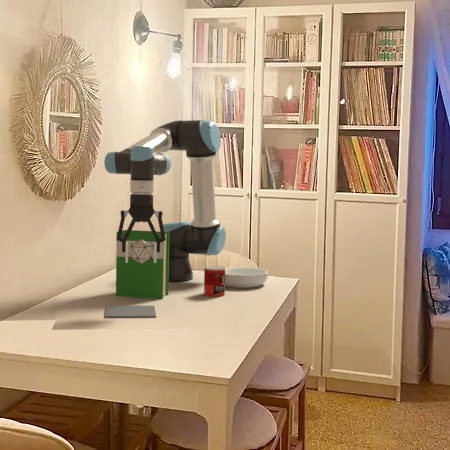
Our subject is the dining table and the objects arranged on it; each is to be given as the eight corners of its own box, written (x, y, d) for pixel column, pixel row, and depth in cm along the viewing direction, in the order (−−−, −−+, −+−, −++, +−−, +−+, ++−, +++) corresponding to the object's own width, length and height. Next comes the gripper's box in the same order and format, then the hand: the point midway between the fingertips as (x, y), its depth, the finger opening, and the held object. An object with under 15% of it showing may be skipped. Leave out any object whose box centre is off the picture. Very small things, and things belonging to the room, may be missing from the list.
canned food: (216, 299, 259) (217, 269, 258) (199, 296, 264) (200, 267, 263) (229, 296, 265) (229, 267, 264) (212, 293, 270) (212, 265, 269)
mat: (106, 307, 241) (106, 305, 241) (154, 307, 243) (154, 305, 243) (105, 317, 225) (105, 316, 225) (156, 317, 227) (156, 315, 227)
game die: (150, 269, 229) (149, 238, 228) (124, 268, 230) (124, 237, 229) (157, 265, 237) (157, 235, 237) (133, 264, 239) (133, 234, 238)
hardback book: (168, 296, 263) (169, 231, 261) (162, 300, 256) (163, 233, 253) (122, 293, 266) (123, 229, 264) (115, 297, 259) (116, 231, 257)
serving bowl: (236, 281, 299) (237, 265, 298) (277, 288, 286) (278, 271, 285) (204, 287, 283) (204, 270, 282) (246, 295, 270) (246, 277, 269)
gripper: (108, 193, 226) (107, 263, 228) (175, 194, 230) (174, 264, 232) (108, 192, 234) (108, 260, 236) (173, 193, 237) (172, 260, 239)
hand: (140, 262), depth 234 cm, fingers closed on game die, 9 cm apart
